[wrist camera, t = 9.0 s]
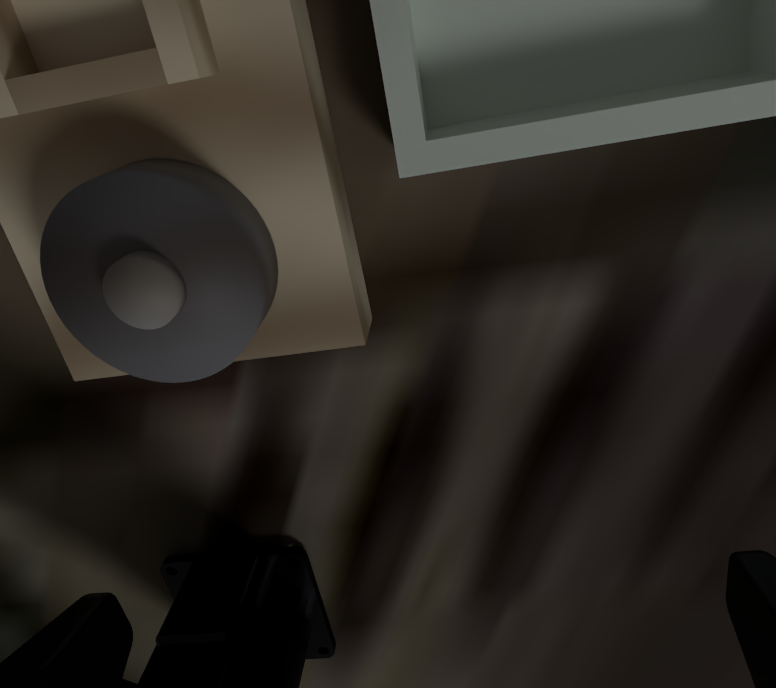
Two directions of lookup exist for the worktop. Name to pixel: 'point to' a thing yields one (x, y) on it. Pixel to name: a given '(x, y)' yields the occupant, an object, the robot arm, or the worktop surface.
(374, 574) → the worktop surface
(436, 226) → the worktop surface
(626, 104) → the tray
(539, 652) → the worktop surface
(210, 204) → the block
